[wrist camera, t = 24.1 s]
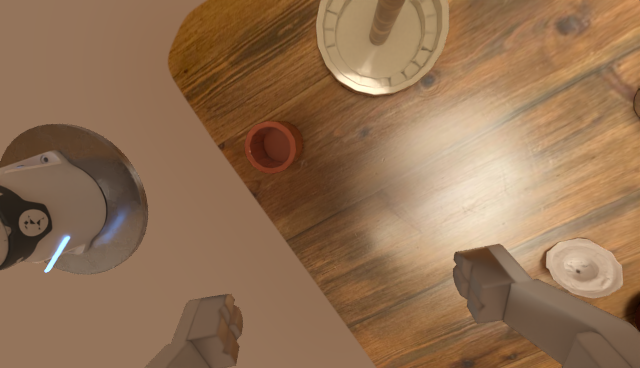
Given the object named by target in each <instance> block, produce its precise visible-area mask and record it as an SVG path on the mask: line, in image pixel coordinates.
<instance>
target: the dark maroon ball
mask: <svg viewBox="0 0 640 368" xmlns="http://www.w3.org/2000/svg"><path fill="white" fill-rule="evenodd" d="M635 323H636V326H637V328H638V330H639V332H640V304H639V306H638V308H637V310H636V314H635Z"/></svg>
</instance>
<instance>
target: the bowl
mask: <svg viewBox="0 0 640 368" xmlns="http://www.w3.org/2000/svg"><path fill="white" fill-rule="evenodd" d="M377 3H378V0H321V1H320V5H319V10H318V15H317V21H316V31H317V42H318V47H319V50H320V52H321V55H322V57H323V59H324V62H325V64H326V67H327V69H328V71H329V72H330V73H331V75H332V76H333V77H334V78H335V79H336V80H337V82H338V83H339V84H340V85H342V86H344V87H345V88H347V89H348V90H350V91H352V92H353V93H356V94H360V95H365V96H369V97H379V96H388V95H392V94H394V93H396V92H399V91H401V90H403V89H405V88H407V87H409V86H411V85H413V84H415V83H416V82H417V81H418V80H419V79H420V78H422V77H423V76H424V75H425V74H426V73H427V72H428V71H430V69H431V68H432V67H433V65H434V63H435V62H436V60H437V59H438V57H439V56H440V54H441V52H442V50H443V48H444V45H445V41H446V38H447V34H448V31H449V4H448V1H447V0H406V1H405V3H404V5H403V7H402V9H401V11H400V13H399V15H398V17H397V19H396V21H395V23H394V25H393V27H392V29H391V31H390V34H389V36H388V38H387V40H386V41H385V43H384V44H382V45H379V46H376V45H374V44H372V43H371V41H370V39H369V34H370V30H371V26H372V22H373V18H374V14H375V11H376V7H377Z"/></svg>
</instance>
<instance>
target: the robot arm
mask: <svg viewBox="0 0 640 368" xmlns="http://www.w3.org/2000/svg"><path fill="white" fill-rule="evenodd" d="M105 220H106V203H105V199H104V196H103V194H102V191H101V189H100V188H99V186H98V185H97V183H96V182H95V181H94V180H93V178H92V177H91V176H89V175H88V174H87V173H86V172H84V171H83V170H81V169H80V168H78V167H76V166H74V165H72V164H71V163H69V162H68V160H67V159H66V158H65V157H64V156H63V155H62V154H61V153H60V152H58V151H56V150H53V151H48V152H45V153H42V154H39V155H36V156H34V157H31V158H28V159H25V160H22V161H19V162H16V163H13V164H10V165H8V166H5V167H2V168H0V270H4V269H7V268H9V267H11V266H14V265H16V264H17V263H19V262H21V261H26V262H34V263H40V262H44V261H46V260H49V259H51V258H52V260H51V261H50V263H49V265H48V266H47V268H46V270H45V272H48V271H50V269H51V267H52V266H53V264H54V263H55V261H56V260H57V258H58V256H59V255H61V254H63V253H70V254H77V255H79V254H82V253H85V252H87V250H88V248H89V246H90V243H91V240H92V239H93V238H94V237H95V236H96V235H97V234H98V233H99V232H100V231H101V229H102V228H103V226H104V223H105ZM454 261H455V263H456V264H457V265H456V266H455V267H454V268H453V278H454V282H455V285H456V287H457V290H458V291H459V293H460V295H461V296H463V297H464V298H466V299H467V300H468V301H467V307H468V309H469V311H470V312H471V314H472V316H473V318H474V319H475V321H476V323H477V324H479V323H486V322H493V321H500V320H503V322H505V323H506V324H507V325H509V326H510V327H511V328H513V329H514V330H515V331H517V332H518V333H520V334H521V335H522V336H524V337H525V338H526V339H528V340H529V341H530V342H532V343H533V344H534V345H536V346H537V347H539V348H540V349H541V350H543V351H544V352H545V353H547V354H548V355H549V356H551V357H552V358H554V359H555V360H556V361H558V362H559V363H560V364H562V365H563V366H562V368H640V332H639V331H638V330H637V329H636V328H635V327H634V326H633V325H632V324H631V323H628V322H626V321H624V320H622V319H620V318H618V317H616V316H614V315H612V314H610V313H608V312H605V311H603V310H601V309H599V308H597V307H595V306H593V305H591V304H589V303H587V302H585V301H582V300H580V299H578V298H576V297H574V296H572V295H570V294H568V293H566V292H564V291H562V290H559V289H557V288H555V287H553V286H551V285H549V284H547V283H545V282H543V281H541V280H539V279H534V280H533V279H532V278H531V277H530V276H529V275H528V274H527V273H526V271H525V270H524V269H523V268H522V267H521V266H520V265H519V264H518V262H517V261H516V260H515V259H514V258H513V257H512V256H511V255H510V253H509V252H508V251H507V250H506V249H505V248H504V247H503V246H502V245H500V244H496V245H490V246H485V247H479V248H474V249H469V250H464V251H458V252H455V254H454ZM234 301H235V299H234V297H233V296H232V294H226V295H219V296H212V297H207V298H201V299H195V300H190V301H189V302H188V303H187V304H186V306H185V308H184V311H183V314H182V316H181V319H180V321H179V324H178V326H177V329H176V332H175V334H174V337H173V339H172V342H171V344H168V345H166V346H165V347H164V348H163V349H162V350H161V351H160V352H159V353H158V354H157V355H156V356H155V358H153V359H152V360H151V362H150V363H149V364H148V365H147V366H146V367H145V368H226V367H231V366H236V362H237V357H238V351H239V345H238V343H237V339H238V338H239V337H240V335H241V334H242V328H243V320H242V314H241V311H240V309H239V307H237V306H235V305H234Z"/></svg>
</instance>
